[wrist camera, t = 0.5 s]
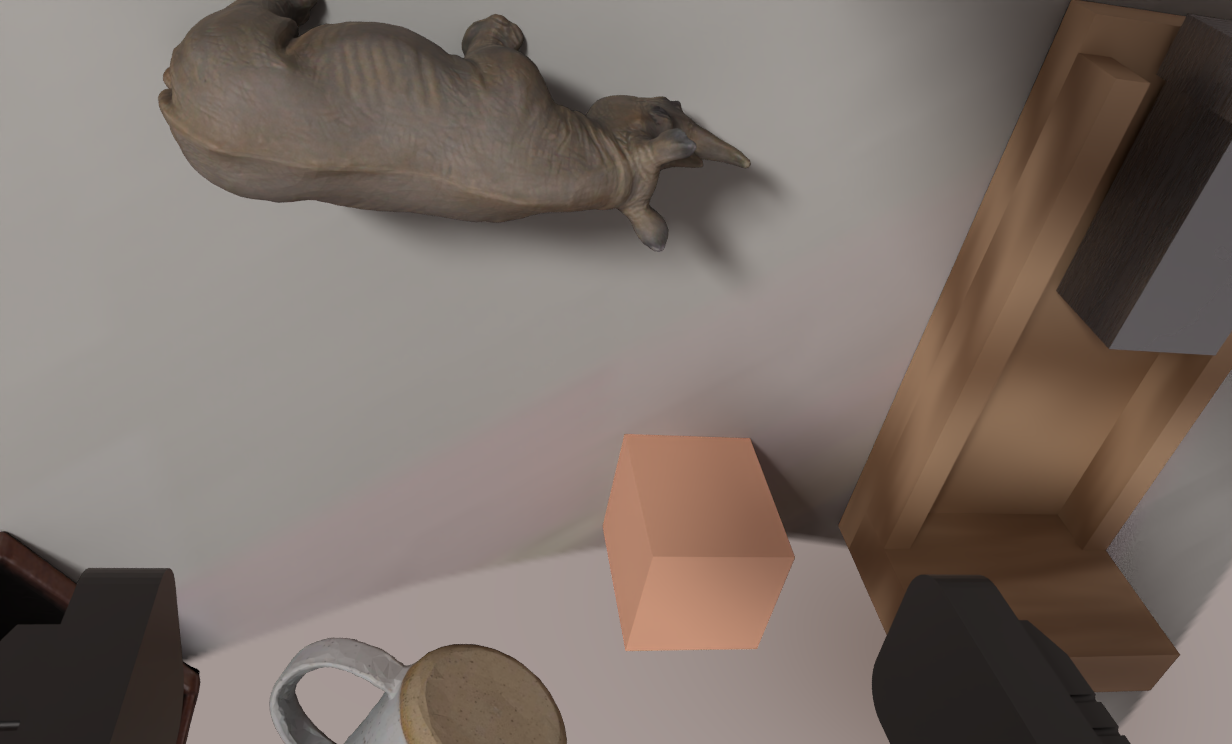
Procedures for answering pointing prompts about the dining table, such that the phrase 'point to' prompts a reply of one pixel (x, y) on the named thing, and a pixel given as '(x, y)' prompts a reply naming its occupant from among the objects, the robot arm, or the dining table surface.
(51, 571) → the letter holder
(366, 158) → the rhino figurine
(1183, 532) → the dining table surface
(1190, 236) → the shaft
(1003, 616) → the robot arm
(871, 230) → the dining table surface
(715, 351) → the dining table surface
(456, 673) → the ceramic mug
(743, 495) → the block
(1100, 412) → the wooden tray
